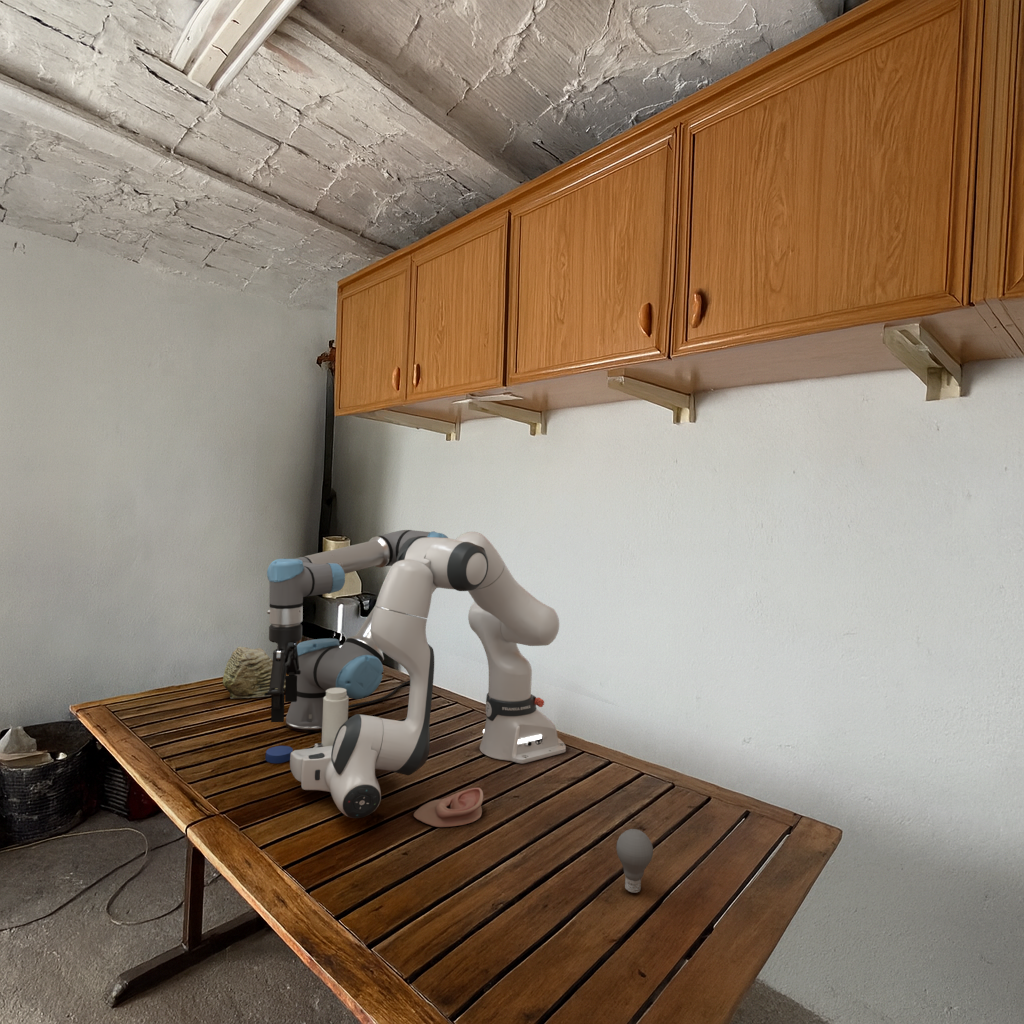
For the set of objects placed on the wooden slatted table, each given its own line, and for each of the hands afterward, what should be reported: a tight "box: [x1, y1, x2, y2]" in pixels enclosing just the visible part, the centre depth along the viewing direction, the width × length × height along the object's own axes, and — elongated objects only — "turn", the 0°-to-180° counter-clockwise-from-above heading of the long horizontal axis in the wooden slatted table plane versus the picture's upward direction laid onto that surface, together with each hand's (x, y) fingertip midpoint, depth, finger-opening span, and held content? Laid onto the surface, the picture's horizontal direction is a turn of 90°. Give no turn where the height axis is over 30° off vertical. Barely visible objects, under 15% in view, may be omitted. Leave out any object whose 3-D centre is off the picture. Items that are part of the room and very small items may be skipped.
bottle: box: [321, 688, 350, 747], centre depth 144 cm, size 6×6×19 cm
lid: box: [265, 745, 294, 764], centre depth 152 cm, size 6×6×2 cm
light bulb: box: [615, 828, 654, 894], centre depth 106 cm, size 6×6×10 cm
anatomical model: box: [413, 787, 484, 828], centre depth 129 cm, size 13×4×12 cm
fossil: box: [222, 646, 285, 699], centre depth 198 cm, size 9×18×15 cm, turn 132°
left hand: (284, 711), depth 153 cm, fingers open, 13 cm apart
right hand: (333, 744), depth 145 cm, fingers closed on bottle, 5 cm apart
